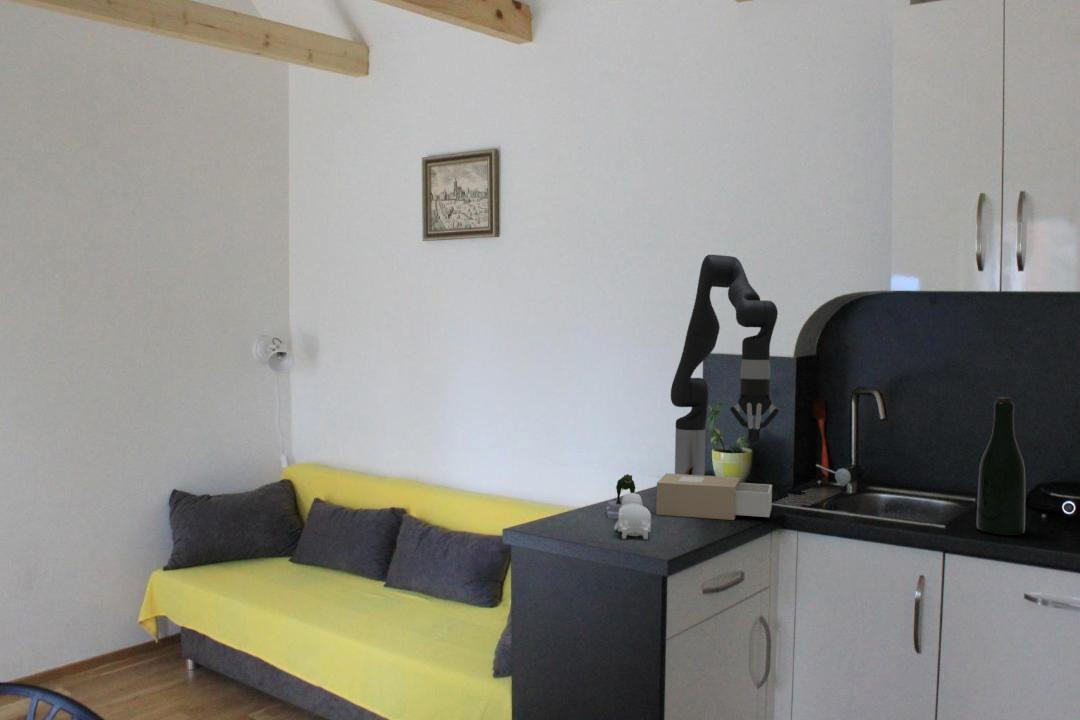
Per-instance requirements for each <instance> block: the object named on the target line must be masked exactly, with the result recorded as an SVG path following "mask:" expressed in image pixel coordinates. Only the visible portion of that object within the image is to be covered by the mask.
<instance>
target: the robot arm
mask: <svg viewBox="0 0 1080 720" xmlns="http://www.w3.org/2000/svg"><path fill="white" fill-rule="evenodd" d="M713 287H715V288H726V289H727V288H728V290H727V296H728V300H729V302H730V303H731V305H732V306H733V307H734V310H735V319H736V322H737V325H739V326H741V327H744V328H759V331H758V333H757V334H756V335H753V336H752V335H751V336H747V337H745V338H743V339H742V342H741V343H742V344H741V345H742V346H741V365H740V373H739V376H740V386H739V391H740V392H739V395H740V396H739V399H738V400H737V403H736V404H735V405H733V406H731V407H730V409H729V410H730V411H731V413H732V414H733V416H734V417H735V419H736V420H737V421H738V422H739V424H740V425H741V427H744V428H746V429H747V430H748V432H747V433H748V435H747V436H748V437H747V438H748V439H747V440H748V442H750V444H754V445H755V444H756V445H757V444H758V443H759V442H760V440H761V429H763V428H766V427H767V426H768V425H769V424H770V423H771V422H772V420H773V419H774V418H775V417H776V416H777V414H778V413H779V412H780V409H779V407H776V406H775V405H773V404H772V402H773V401H772V400H771V398H770V397H771V394H770V393H771V365H770V364H771V363H770V352H771V351H770V349H771V341H772V336H773V332H774V328H775V326H776V323H777V319H778V315H779V314H778V313H779V312H778V308H777V306H776V304H775V302H774V301H772V300H761V298H760V296H759V294H758V292H757V291H756V290H755V289H754V288H753V287H752V285H751V284H750V282H749V280H748V277H747V274H746V272H745V269H744V267H743V265H742V263H741V261H740V260H739V259H738V258H737V257H735V256H731V255H721V254H720V255H719V254H707V255H705V257H704V259H703V261H702V263H701V266H700V271H699V276H698V283H697V289H696V295H695V299H694V300H695V301H694V303H693V304H694V305H693V308H692V312H691V316H690V318H689V319H690V320H689V322H688V323H689V324H688V326H687V330H686V335H685V341H684V345H683V348H682V352H681V357H680V361H679V363H678V366H677V369H676V372H675V375H674V377H673V380H672V383H671V384H672V385H671V389H670V401H671V403H672V405H673V406H675V407H676V408H677V407H678V408H691V410H690V411H689V412H687V414H686V415H683V416H681V417H679V418H677V419H676V421H675V442H674V443H675V444H674V445H675V446H674V448H675V449H674V474H685V472H686V470H687V469H688V467H689V466H690V465H691V464H693V469H692V475H702V476H705V469H706V468H705V465H706V463H705V462H706V461H705V459H706V458H705V457H706V453H705V451H706V424H707V419H708V418H707V417H708V401H709V387H708V383H707V381H706V380H705V379H704V378H703V377H693V374H694V373H695V370H696V369H697V367H699V366H700V365H701V364H702V363H703V362H704V361H705V359H707V358H708V357H709V355H710V354H711V353H712V352H713V350H714V349H715V348H716V345H717V341H718V337H719V333H720V330H721V329H720V321H719V318H718V316H717V314H716V312H715V308H714V307H713V305H712V304H713V303H712V300H711V292H712V288H713ZM740 408H741V409H740ZM768 409H769V411H768ZM741 410H742V411H743V414H745V415H746V417H747V421H746V420H745V418H744V417H743V415H742V414H741V413H740V412H741ZM767 411H768V412H769V415H768V416H767V417H766V419H765V420H764V421H763V422H761V420H762V416H763V415H764V414H765V413H766V412H767ZM754 416H755V423H754Z"/></svg>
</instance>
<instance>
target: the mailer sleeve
mask: <svg viewBox="0 0 1080 720" xmlns="http://www.w3.org/2000/svg"><path fill="white" fill-rule="evenodd" d="M738 483H741V479H740V477H733V476H719V475H718V476H717V475H715V476H714V475H704V476H702V475H684V474H675V473H667V472H666V473H665V474H664V475H663V476H661V478H660V479H659V480H658V481H657V482H656V504H655V505H656V507H655V508H656V510H655V511H656V512H655V514H656V515H657V516H659V515H660V516H672V517H674V516H675V517H684V518H685V517H686V518H687V517H688V518H700V519H701V518H702V519H713V520H714V519H717V520H727V521H729V520H730V521H735V519H736V517H737V515H735V489H736V487H737V485H738Z"/></svg>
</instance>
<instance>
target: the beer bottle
mask: <svg viewBox="0 0 1080 720" xmlns="http://www.w3.org/2000/svg"><path fill="white" fill-rule="evenodd" d="M993 409H994V410H993V411H994V412H993V426H992V431H991V436H990V439H989V441H988V443H987V446H986V448H985V450H984V452H983V455H982V456H981V461H980V464H979V472H978V473H979V474H978V487H977V505H976V506H977V507H976V528H977V530H978V529H980V530H983V531H987V532H993V533H1001V534H1021V533H1023V534H1024V533H1025V531H1026V530H1025V529H1026V528H1025V527H1026V468H1025V467H1026V466H1025V462H1024V459H1023V455H1022V453H1021V451H1020V449H1019V445H1018V443H1017V440H1016V434H1015V424H1014V423H1015V422H1014V421H1015V419H1014V416H1015V415H1014V413H1015V404H1014V402H1013V398H1012V397H1009V396H998V397H996V402H994V404H993ZM980 530H979V531H980ZM1021 535H1022V534H1021Z"/></svg>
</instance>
